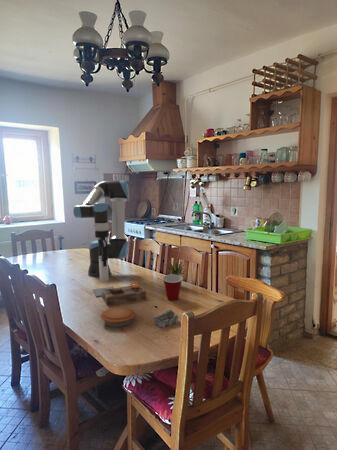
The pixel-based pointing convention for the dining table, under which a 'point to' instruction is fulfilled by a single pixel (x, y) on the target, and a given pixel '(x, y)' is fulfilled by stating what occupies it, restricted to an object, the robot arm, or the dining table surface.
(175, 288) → the plastic cup
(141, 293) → the housing
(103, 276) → the cartridge
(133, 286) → the release button
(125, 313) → the pie
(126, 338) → the dining table surface
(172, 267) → the house plant
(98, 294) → the mat
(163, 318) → the egg carton
